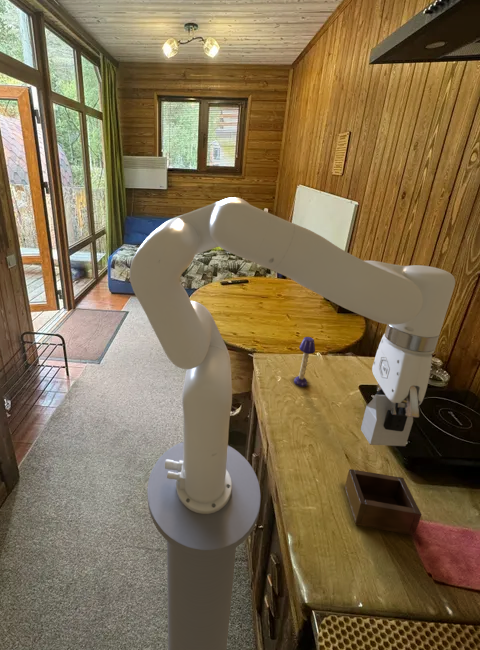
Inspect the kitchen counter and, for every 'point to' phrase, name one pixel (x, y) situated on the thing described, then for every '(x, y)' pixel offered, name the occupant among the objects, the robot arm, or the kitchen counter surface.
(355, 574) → the kitchen counter surface
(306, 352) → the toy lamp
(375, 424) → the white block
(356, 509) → the box
